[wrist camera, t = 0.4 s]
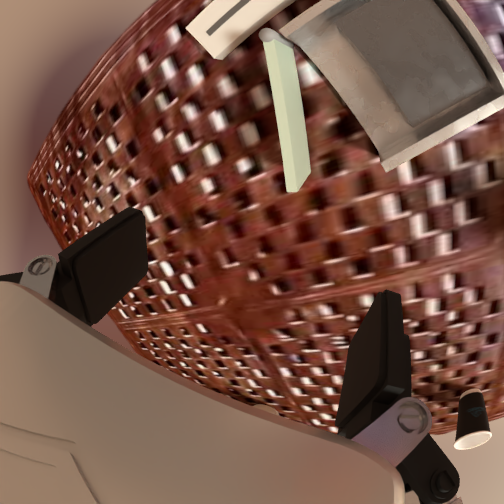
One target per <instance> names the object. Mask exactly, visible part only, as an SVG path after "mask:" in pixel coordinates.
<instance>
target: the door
mask: <svg viewBox="0 0 504 504" xmlns="http://www.w3.org/2000/svg"><path fill="white" fill-rule="evenodd" d="M259 38H260V39H261V40H262V41H263V44H264V50H265V55H266V60H267V66H268V71H269V77H270V83H271V88H272V94H273V100H274V106H275V113H276V119H277V125H278V132H279V138H280V145H281V152H282V159H283V166H284V173H285V181H286V188H287V192H297V191H298V190H299V189H300V187H301V186H302V184H303V183H304V181H305V180H306V178H307V177H308V175H309V174H310V173H311V169H310V160H309V152H308V143H307V135H306V128H305V120H304V113H303V106H302V100H301V93H300V87H299V81H298V75H297V69H296V63H295V58H294V52H293V48H294V43H293V42H292V41H290V40H289V39H287V38H286V37H284V36H282V35H281V34H279V33H277V32H275V31H274V30H272V29H270V28H264V29H262V30H261V31H260V32H259Z"/></svg>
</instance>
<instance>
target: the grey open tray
mask: <svg viewBox="0 0 504 504" xmlns="http://www.w3.org/2000/svg"><path fill="white" fill-rule="evenodd" d="M279 31H280V32H281V33H282V34H283V35H284V36H285V37H286V38H287V39H289V40H290V41H292V42H294V43H295V44H297V45H298V46H300V47H301V49H302V50H303V51H304V52H305V53H306V54H307V55H308V56H309V58H310V59H311V60H312V61H313V62H314V63H315V65H316V66H317V67H318V68H319V69H320V71H321V72H322V73H323V74H324V75H325V77H326V78H327V79H328V80H329V82H330V83H331V84H332V86H333V87H334V88H335V89H336V91H337V92H338V93H339V95H340V96H341V97H342V99H343V100H344V101H345V103H346V104H347V105H348V107H349V108H350V110H351V111H352V112H353V114H354V115H355V117H356V118H357V119H358V121H359V122H360V124H361V125H362V127H363V128H364V130H365V131H366V133H367V134H368V136H369V137H370V139H371V140H372V142H373V143H374V145H375V147H376V148H377V150H378V152H379V157H380V162H381V164H382V166H383V168H384V169H385V171H386V172H388V171H390V170H392V169H393V168H395V167H397V166H399V165H401V164H402V163H404V162H406V161H408V160H410V159H412V158H413V157H415V156H417V155H419V154H421V153H422V152H424V151H426V150H428V149H430V148H431V147H433V146H435V145H437V144H439V143H440V142H442V141H444V140H446V139H448V138H450V137H451V136H453V135H455V134H457V133H459V132H460V131H462V130H464V129H466V128H468V127H469V126H471V125H473V124H475V123H477V122H479V121H480V120H482V119H484V118H486V117H488V116H490V115H491V114H493V113H495V112H497V111H499V110H500V109H502V108H504V72H503V70H502V69H501V67H500V65H499V63H498V61H497V60H496V58H495V56H494V54H493V53H492V51H491V49H490V48H489V46H488V45H487V43H486V41H485V40H484V38H483V37H482V35H481V34H480V32H479V31H478V29H477V28H476V26H475V25H474V24H473V22H472V21H471V19H470V18H469V17H468V15H467V14H466V13H465V11H464V10H463V9H462V7H461V6H460V5H459V4H458V2H457V1H456V0H321V1H320V2H318V3H316V4H315V5H313V6H312V7H310V8H309V9H307V10H306V11H304V12H303V13H302V14H300V15H299V16H297V17H296V18H294V19H293V20H292V21H290V22H289V23H288V24H286V25H285V26H283V27H282V28H281V29H279Z"/></svg>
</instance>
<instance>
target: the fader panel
mask: <svg viewBox="0 0 504 504" xmlns="http://www.w3.org/2000/svg"><path fill="white" fill-rule="evenodd" d="M294 1H296V0H214V1H213V2H211V3H210V4H209V5H208V6H207V7H206V8H205V9H204V10H203V11H202V12H201V13H200V14H199V15H198V16H197V17H196V18H195V19H194V20H193V21H192V22H191V23H190V24H189V25H188V26H187V27H186V29H187V30H188V31H189V32H190V33H191V34H192V35H193V36H194V37H195V39H196V40H197V41H198V42H199V43H200V44H201V45H202V46H203V47H204V48H205V49H206V50H207V51H208V52H209V53H210V54H211V55H212V57H213V58H214V59H221V60H223V59H224V58H225V57H226V56H227V55H228V54H229V53H230V52H231V51H233V50H234V49H235V48H236V47H237V46H238V45H239V44H240V43H242V42H243V41H244V40H245V39H246V38H248V37H249V36H250V35H251V34H252V33H254V32H255V31H256V30H257V29H258V28H260V27H261V26H262V25H264V24H265V23H266V22H267V21H269V20H270V19H271V18H273V17H274V16H275V15H276V14H278V13H279V12H281V11H282V10H283V9H285V8H286V7H287V6H289V5H290V4H292V3H293V2H294Z"/></svg>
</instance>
